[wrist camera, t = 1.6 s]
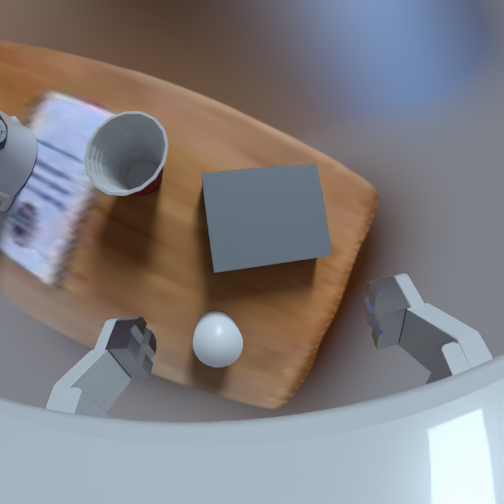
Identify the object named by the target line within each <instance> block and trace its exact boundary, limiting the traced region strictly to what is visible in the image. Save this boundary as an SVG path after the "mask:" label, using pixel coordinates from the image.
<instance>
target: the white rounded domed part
mask: <svg viewBox="0 0 504 504" xmlns="http://www.w3.org/2000/svg"><path fill="white" fill-rule="evenodd" d="M242 348H243V340H242V336H241V334H240V332H239V330H238V328H237V326H236V325H235V323H234V321H233V319H232V318H231V317H230V316H229V315H228V314H227V313H225V312H223V311H219V310H212V311H208V312H206V313H204V314H203V315H201V316H200V318H199V319H198V321H197V323H196V326H195V331H194V337H193V349H194V352H195V354H196V356H197V357H198V359H199V360H200V361H201V362H203V363H204V364H206V365H208V366H211V367H225V366H228V365H230V364H232V363H233V362H234V361H236V360H237V358H238V357H239V356H240V354H241V351H242Z"/></svg>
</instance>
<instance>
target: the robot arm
mask: <svg viewBox="0 0 504 504" xmlns="http://www.w3.org/2000/svg"><path fill="white" fill-rule="evenodd" d="M36 154H37V142H36V138H35V135H34V133H33V132H32V131H31V130H30V129H29V128H27V127H25V126H23V125H22V124H21V123H20V121H19V119H18V118H17V117H15V116H12V117H9V116H8V115H6V114H4V113H3V112H1V111H0V203H1V205H0V212H5V211H7V210H8V209H9V207H10V205H11V203H12V201H13V199H14V196H15V195H16V193H17V192H18V191H19V190H20V189H21V187H22V186H23V185H24V184H25V182H26V181H27V179H28V177H29V175H30V173H31V171H32V169H33V166H34V163H35V159H36ZM365 292H366V295H367V297H366V299H365V300H364V309H365V316H366V320H367V323H368V325H369V326H370V327H372V337H373V340H374V343H375V346H376V349H379V348H383V347H388V346H393V345H397V344H399V346H400V347H402V348H403V349H404V350H405V351H406V352H407V353H409V354H410V355H411V356H412V357H413V358H415V359H416V360H417V361H418V362H419V363H420V364H422V365H423V366H424V367H425V368H426V369H428V370H429V371H430V372H431V374H430V376H429V378H428V380H427V383H426V385H423V386H420V387H417V388H414V389H410V390H407V391H403V392H400V393H396V394H393V395H389V396H385V397H381V398H377V399H374V400H369V401H365V402H361V403H356V404H352V405H347V406H342V407H337V408H332V409H326V410H320V411H314V412H309V413H302V414H295V415H287V416H279V417H270V418H261V419H250V420H235V421H216V422H156V421H135V420H122V419H114V418H113V417H111V416H110V415H109V414H108V413H107V411H108V409H109V408H110V407H111V405H112V404H113V403H114V401H115V400H116V399H117V397H118V396H119V395H120V394H121V392H122V391H123V390H124V388H125V387H126V386H127V384H128V383H129V382H130V380H131V378H147V377H148V378H149V377H150V374H151V370H152V366H153V363H152V361H151V358H152V357H153V356H154V355H155V353H156V349H157V346H156V339H155V336H154V334H153V332H152V331H151V330H149V329H147V328H146V325H147V323H146V321H145V320H144V318H143V317H130V318H119V319H109V320H107V321H106V323H105V325H104V327H103V330H102V332H101V334H100V337H99V339H98V342H97V344H96V347H95V349H94V350H91V351H90V352H89V353H88V354H87V355H86V356H85V357H83V359H81V360H80V361H79V362H78V363H77V364H76V365H75V366H74V367H73V368H72V369H71V370H70V371H69V372H67V373H66V374H65V375H64V376H63V377H62V378H61V379H60V380H59V381H58V382H57V383H56V384H55V385H54V388H53V391H52V393H51V396H50V398H49V401H48V404H47V406H46V408H40V407H36V406H32V405H27V404H23V403H19V402H15V401H11V400H7V399H4V398H0V504H504V354H502V355H500V356H498V357H496V358H494V359H493V358H492V356H491V354H490V353H489V350H488V349H487V347H486V345H485V343H484V341H483V340H482V338H481V336H480V334H479V333H478V332H477V331H475V330H474V329H472V328H470V327H469V326H467V325H465V324H463V323H462V322H460V321H458V320H457V319H455V318H453V317H451V316H450V315H448V314H446V313H444V312H443V311H441V310H439V309H437V308H436V307H434V306H432V305H430V304H424V302H423V300H422V299H421V297H420V295H419V293H418V292H417V290H416V288H415V287H414V285H413V283H412V281H411V280H410V278H409V277H408V275H407V274H400V275H396V276H393V277H388V278H383V279H379V280H374V281H369V282H366V285H365Z"/></svg>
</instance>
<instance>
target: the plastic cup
mask: <svg viewBox="0 0 504 504" xmlns="http://www.w3.org/2000/svg"><path fill="white" fill-rule="evenodd" d="M167 150H168V141H167V137H166V132H165V129H164V128H163V127H162V125H161V124H160V123H159V122H158V120H157V119H156V118H155V117H152V116H150V115H148V114H146V113H144V112H137V111H126V112H123V113H120V114H118V115H115V116H112V117H110V118H109V119H108V120H106V121H105V122H104V123H103V124H102V125H100V126H99V127H98V128H97V129H96V131H95V132H94V134H93V136H92V137H91V139H90V140H89V142H88V145H87V149H86V154H85V158H84V159H85V166H86V172H87V175H88V177H89V178H90V180H91V182H92V183H93V185H94V186H95V187H96V188H98V189H99V190H101V191H103V192H105V193H106V194H108V195H120V196H126V195H128V194H135V195H142V196H144V195H147V194H150V193H152V192H153V191H154V190H156V189H157V188H158V186H159V184H160V183H161V179H162V173H163V166H164V164H165V162H166V156H167Z"/></svg>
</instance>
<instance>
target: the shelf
mask: <svg viewBox="0 0 504 504" xmlns="http://www.w3.org/2000/svg"><path fill="white" fill-rule="evenodd" d="M202 188H203V197H204V205H205V213H206V221H207V229H208V236H209V244H210V251H211V259H212V266H213V272H214V273H216V272H223V271H230V270H237V269H244V268H251V267H258V266H265V265H272V264H278V263H285V262H292V261H298V260H305V259H311V258H318V257H324V256H331V255H332V251H331V244H330V238H329V231H328V225H327V219H326V213H325V207H324V202H323V196H322V191H321V185H320V180H319V175H318V170H317V165H316V164H307V165H290V166H276V167H263V168H252V169H241V170H231V171H222V172H213V173H205V174H202Z"/></svg>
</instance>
